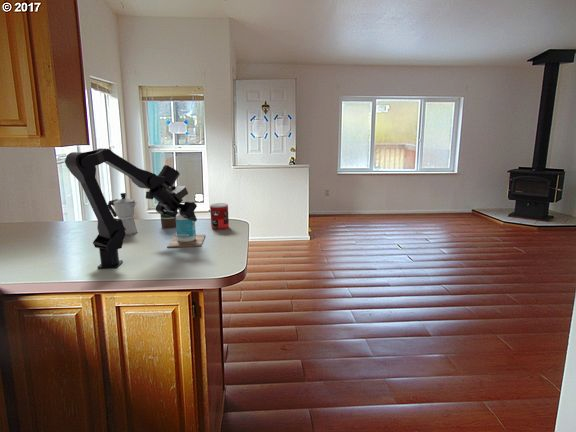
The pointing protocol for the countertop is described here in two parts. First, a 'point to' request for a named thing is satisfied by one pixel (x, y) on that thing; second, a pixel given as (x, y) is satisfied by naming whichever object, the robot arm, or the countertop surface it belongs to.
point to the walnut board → (196, 243)
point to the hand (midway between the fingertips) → (188, 219)
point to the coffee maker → (124, 212)
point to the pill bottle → (185, 229)
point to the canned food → (219, 216)
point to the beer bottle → (168, 220)
